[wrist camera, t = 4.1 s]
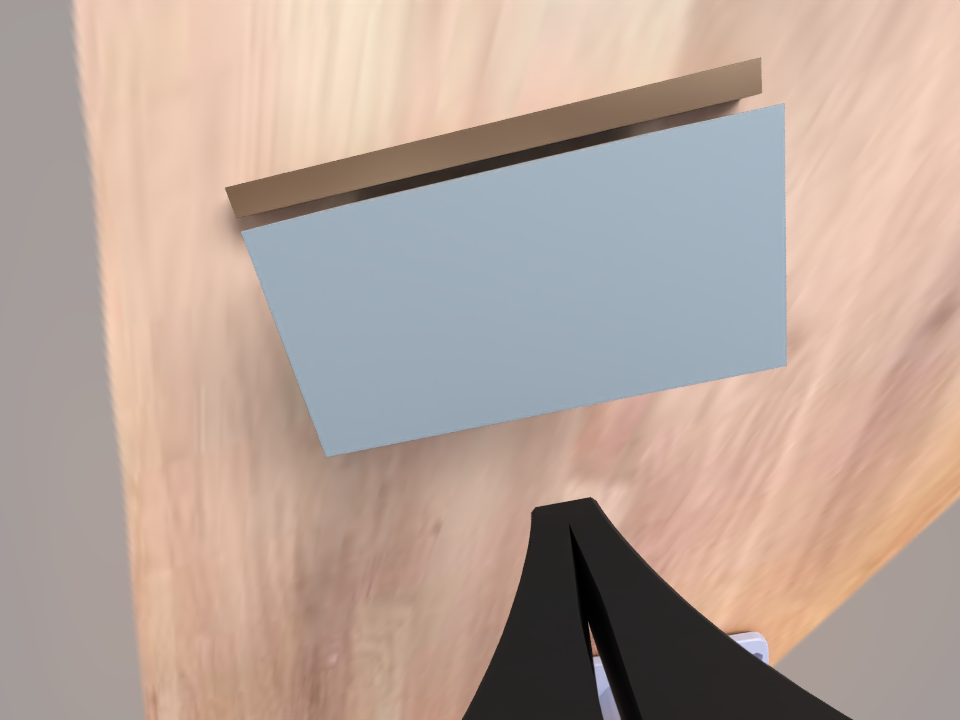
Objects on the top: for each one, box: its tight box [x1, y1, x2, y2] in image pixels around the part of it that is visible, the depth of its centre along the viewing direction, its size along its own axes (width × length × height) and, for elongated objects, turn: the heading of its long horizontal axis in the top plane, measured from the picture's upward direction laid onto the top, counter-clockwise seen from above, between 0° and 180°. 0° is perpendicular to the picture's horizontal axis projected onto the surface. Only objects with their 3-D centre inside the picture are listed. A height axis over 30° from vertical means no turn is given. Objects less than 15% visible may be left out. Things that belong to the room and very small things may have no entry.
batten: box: [225, 57, 762, 218], centre depth 14 cm, size 1×14×1 cm, turn 103°
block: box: [241, 103, 787, 457], centre depth 11 cm, size 4×8×8 cm, turn 102°
